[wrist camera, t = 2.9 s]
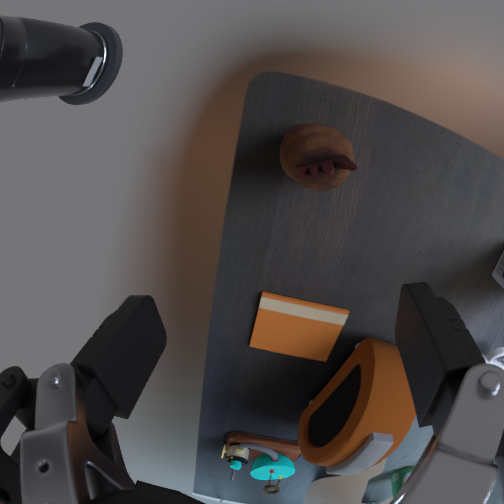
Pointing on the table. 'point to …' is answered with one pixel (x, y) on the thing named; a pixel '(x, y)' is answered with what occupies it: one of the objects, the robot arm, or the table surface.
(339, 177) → the wooden figurine
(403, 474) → the beverage can
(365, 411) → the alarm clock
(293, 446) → the contraption on wooden base
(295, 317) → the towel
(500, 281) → the coffee box
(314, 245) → the table surface
